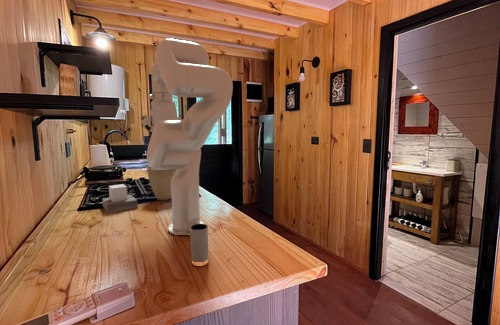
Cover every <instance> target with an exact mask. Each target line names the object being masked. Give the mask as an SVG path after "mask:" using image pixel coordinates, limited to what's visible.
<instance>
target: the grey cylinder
mask: <svg viewBox="0 0 500 325" xmlns="http://www.w3.org/2000/svg"><path fill="white" fill-rule="evenodd" d="M190 232H191V235H190V256H191V257H190V259H192V261H194V262H204V261H206V260H207V259H208V260H209V227H208V225H207V224H205V223H204V224H195V225H192V226H191V227H190Z"/></svg>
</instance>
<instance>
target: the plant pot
mask: <svg viewBox="0 0 500 325" xmlns="http://www.w3.org/2000/svg"><path fill="white" fill-rule="evenodd" d="M176 170H177V169H169V170H154V169H152V168H151V167H150V166H149V165H148V166H147V167H146V172H147V176H148V180H149V184H150V186H151V189H152V192H153V195H154V196H155V198H156V200H158V201H167V200H171V179H172V177H173V175H174V173H175V172H176Z"/></svg>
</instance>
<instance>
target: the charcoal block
mask: <svg viewBox="0 0 500 325" xmlns="http://www.w3.org/2000/svg"><path fill="white" fill-rule="evenodd" d="M127 197H128V200H122V201H116V202H112V201H111V200H110V197H104V198H102V199H101V200H102V207H103V209H104V210H105V212H107V213H108V214H112V213H116V212H121V211H126V210H127V211H128V210H132V209H138V208H139V207H138V206H139V205H138V199H136V197H134V196H133V195H132V194H127Z"/></svg>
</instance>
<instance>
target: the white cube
mask: <svg viewBox="0 0 500 325" xmlns="http://www.w3.org/2000/svg"><path fill="white" fill-rule="evenodd" d="M108 193H109V198H110V200H111V201H112V202H116V201H122V200H128V197H127V195H128V186H127V185H125V184H124V183H122V184H121V183H120V184H113V185H108Z"/></svg>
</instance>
